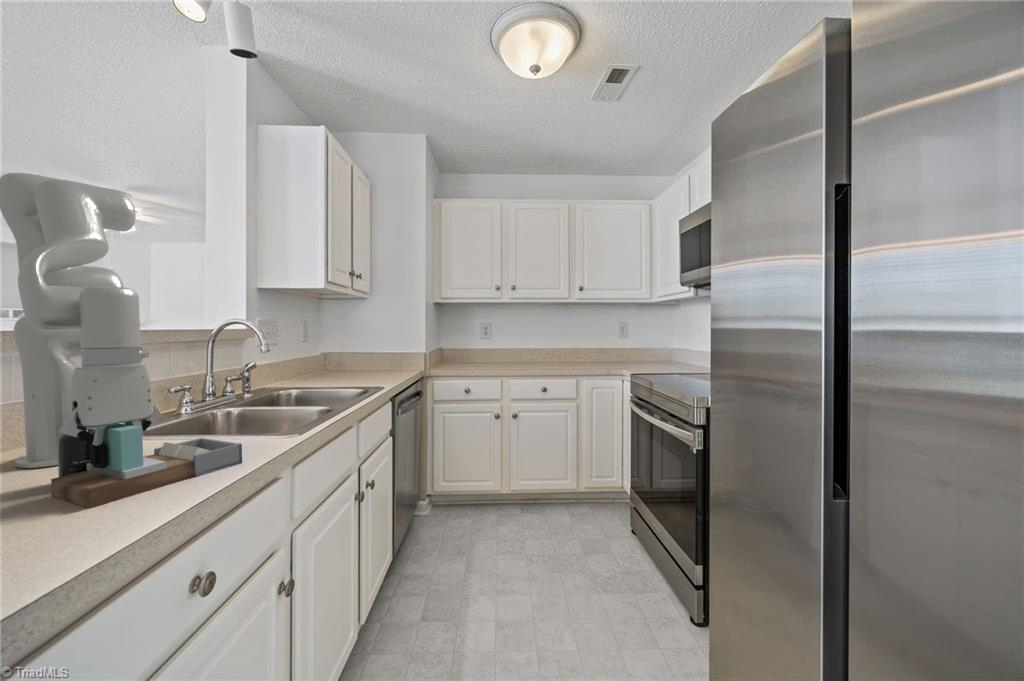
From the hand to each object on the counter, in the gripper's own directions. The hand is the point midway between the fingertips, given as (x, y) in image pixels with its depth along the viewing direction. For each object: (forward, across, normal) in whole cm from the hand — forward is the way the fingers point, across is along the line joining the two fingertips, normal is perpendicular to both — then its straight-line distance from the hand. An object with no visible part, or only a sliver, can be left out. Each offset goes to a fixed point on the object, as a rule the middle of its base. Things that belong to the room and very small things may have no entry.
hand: (116, 462), depth 74 cm
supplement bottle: (+5, 0, -10) cm, 11 cm away
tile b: (+3, -11, +3) cm, 12 cm away
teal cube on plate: (+2, -2, 0) cm, 2 cm away
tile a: (+3, -11, -3) cm, 12 cm away
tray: (+5, -14, 0) cm, 14 cm away
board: (+5, -2, 0) cm, 5 cm away
